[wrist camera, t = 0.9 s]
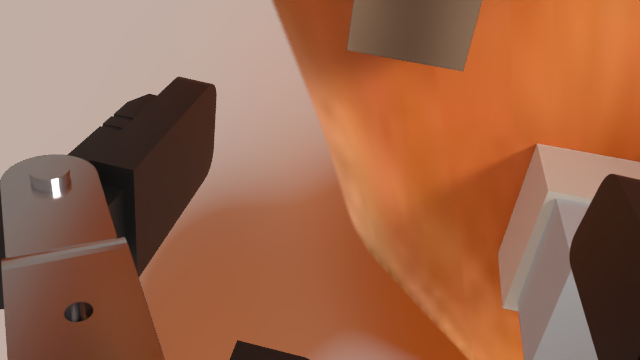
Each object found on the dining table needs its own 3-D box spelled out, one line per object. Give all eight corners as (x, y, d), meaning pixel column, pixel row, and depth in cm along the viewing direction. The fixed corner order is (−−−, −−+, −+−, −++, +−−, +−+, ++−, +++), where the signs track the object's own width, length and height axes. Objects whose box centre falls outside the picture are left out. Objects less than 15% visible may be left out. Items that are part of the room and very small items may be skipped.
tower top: (711, 224, 26) (758, 300, 22) (651, 328, 30) (682, 409, 26) (555, 197, 27) (573, 265, 23) (517, 301, 31) (525, 375, 27)
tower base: (689, 169, 30) (725, 224, 26) (629, 279, 34) (652, 340, 30) (536, 141, 31) (548, 190, 27) (497, 251, 35) (502, 308, 31)
